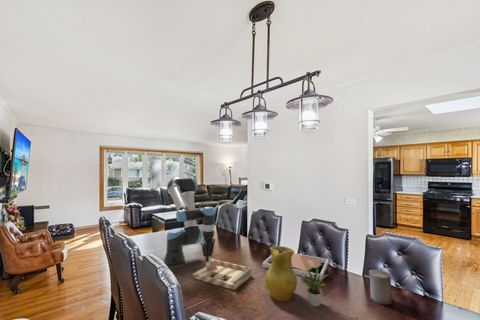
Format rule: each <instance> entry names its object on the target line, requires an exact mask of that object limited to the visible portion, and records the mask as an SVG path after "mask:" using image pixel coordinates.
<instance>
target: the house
mask: <svg viewBox="0 0 480 320" xmlns="http://www.w3.org/2000/svg"><path fill="white" fill-rule="evenodd" d="M295 253H296V252H294V253H293V255H292V257H291V259H292V260H291V261H292V268H293V269H297V270H302V271H306V270H307V271H309V272H311V273H313V271H314V272H316V271H317V269H318V271H319V270H320V267H321V265H323V263H321V262H322V261H319V260H316V259H312V258H309V257H306V256H302V255H303V254H301V255H299V254H300V253H296V254H295ZM305 269H306V270H305Z"/></svg>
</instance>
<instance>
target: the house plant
mask: <svg viewBox="0 0 480 320" xmlns="http://www.w3.org/2000/svg"><path fill="white" fill-rule="evenodd" d="M305 270H306V269H305ZM306 271H307V270H306ZM307 272H308V273H309V275H310V279H309V277H307V276H306V275H305V274H304V275H305V276H306V277H305V276H302V275H301V277H302V278H303V280H304V281H302V283H305V284H306V286H307V287H308V288H307V292H306V293H307V296H308V297H307V298H308V303H309V305H310V306H313V307H319V306H320V305H321V299H322V289H324V288H325V286H326V284H325V283H323V281H324V279H325V277H327V276H328V274H324V275H323V277H322V278H321V279H320V280H319V278H320V274H321V272H320V273H319V270H318V268H316V271H314V272H313V271H312V272H311V271H309V270H308V271H307ZM310 272H311V273H315V274H314V278H313V277H312V275H311V273H310ZM302 274H303V273H302ZM317 274H319V276H318V278H317ZM316 278H317V279H316ZM321 282H322V283H321Z"/></svg>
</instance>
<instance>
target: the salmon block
mask: <svg viewBox="0 0 480 320" xmlns="http://www.w3.org/2000/svg"><path fill="white" fill-rule="evenodd" d="M216 260H217V259H215V258H212V257H211V262H210V267H207V266H206V265H205V267H206V268H208V269H211V270H212V269H214V268H216Z"/></svg>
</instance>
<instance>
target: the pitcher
mask: <svg viewBox="0 0 480 320" xmlns="http://www.w3.org/2000/svg"><path fill="white" fill-rule="evenodd" d="M269 250H270V253H271V254H270V255H272V260H271V261H270V264H271V266H270V268H268V270H267V272H266V273H265V285H266V286H265V287H266V289H267V291H269V293H268V295H269V297H271V298H272V299H274V300H275V301H277V302H278V301H279V302H286V301H290V300H291V299H292V298H293V294H294V293H295V291H296V289H297V285H298V278H297V275H296V274H295V272H294V271H293V269H294V267H292V261H291V260H292V259H291V257H292V255H293V253H295V249H293V248H291V247H288V246H282V245H276V246H275V245H274V246H270V247H269Z"/></svg>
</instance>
